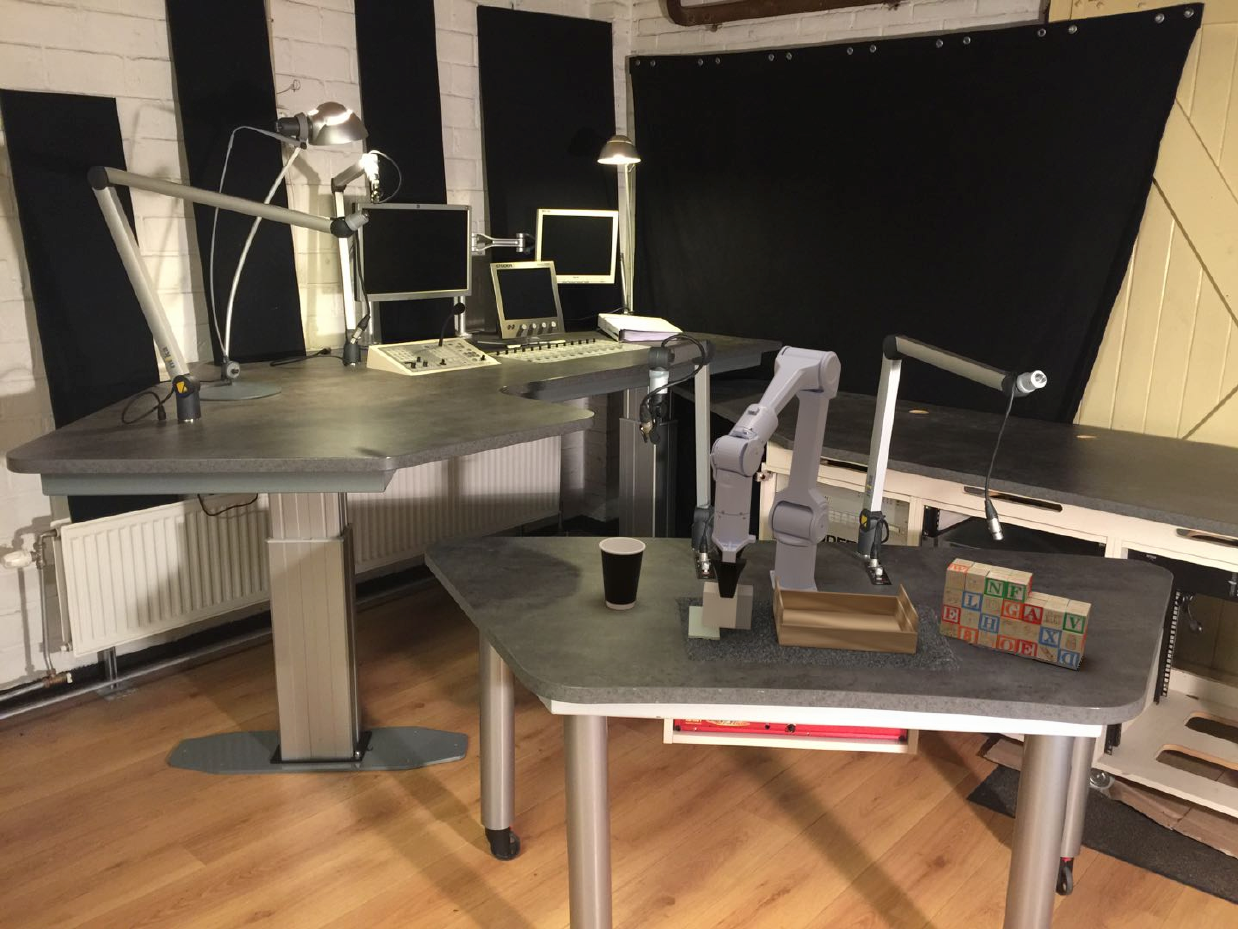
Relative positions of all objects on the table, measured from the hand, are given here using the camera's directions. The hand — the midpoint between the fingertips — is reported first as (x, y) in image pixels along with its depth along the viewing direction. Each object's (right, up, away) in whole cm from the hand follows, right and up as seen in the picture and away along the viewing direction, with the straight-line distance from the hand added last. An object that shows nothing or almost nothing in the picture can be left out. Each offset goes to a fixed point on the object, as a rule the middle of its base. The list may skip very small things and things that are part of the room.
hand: (727, 588), depth 164 cm
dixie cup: (-18, -4, +9) cm, 20 cm away
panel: (0, -6, +2) cm, 7 cm away
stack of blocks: (+45, -9, -3) cm, 46 cm away
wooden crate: (+19, -7, 0) cm, 20 cm away
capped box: (0, -6, +2) cm, 6 cm away
